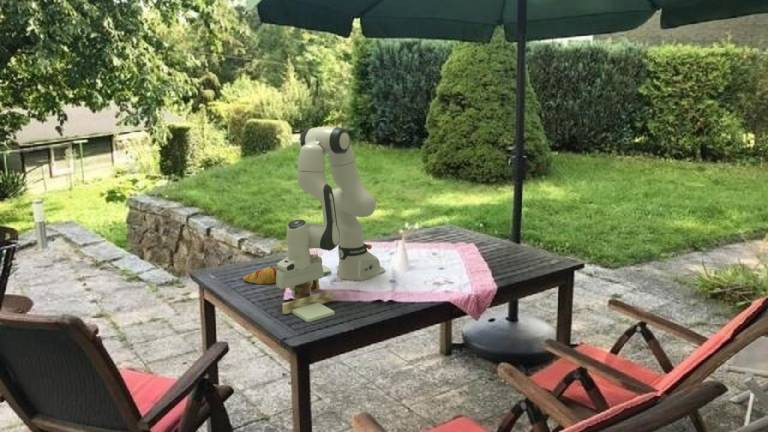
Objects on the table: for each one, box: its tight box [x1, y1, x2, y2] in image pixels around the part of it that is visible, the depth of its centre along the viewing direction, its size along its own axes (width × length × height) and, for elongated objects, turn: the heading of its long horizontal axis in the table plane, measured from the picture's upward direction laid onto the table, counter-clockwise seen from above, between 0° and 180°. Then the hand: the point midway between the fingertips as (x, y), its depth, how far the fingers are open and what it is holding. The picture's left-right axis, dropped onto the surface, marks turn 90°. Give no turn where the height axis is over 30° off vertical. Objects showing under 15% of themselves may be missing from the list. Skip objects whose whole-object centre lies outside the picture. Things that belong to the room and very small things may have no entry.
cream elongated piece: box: [310, 249, 332, 274], centre depth 303 cm, size 9×32×4 cm, turn 19°
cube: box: [292, 283, 311, 300], centre depth 259 cm, size 5×5×5 cm
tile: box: [291, 302, 336, 323], centre depth 248 cm, size 12×12×1 cm
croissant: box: [242, 266, 278, 285], centre depth 284 cm, size 21×10×8 cm
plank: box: [281, 290, 334, 315], centre depth 254 cm, size 22×2×4 cm, turn 127°
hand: (301, 293), depth 259 cm, fingers closed on cube, 5 cm apart
